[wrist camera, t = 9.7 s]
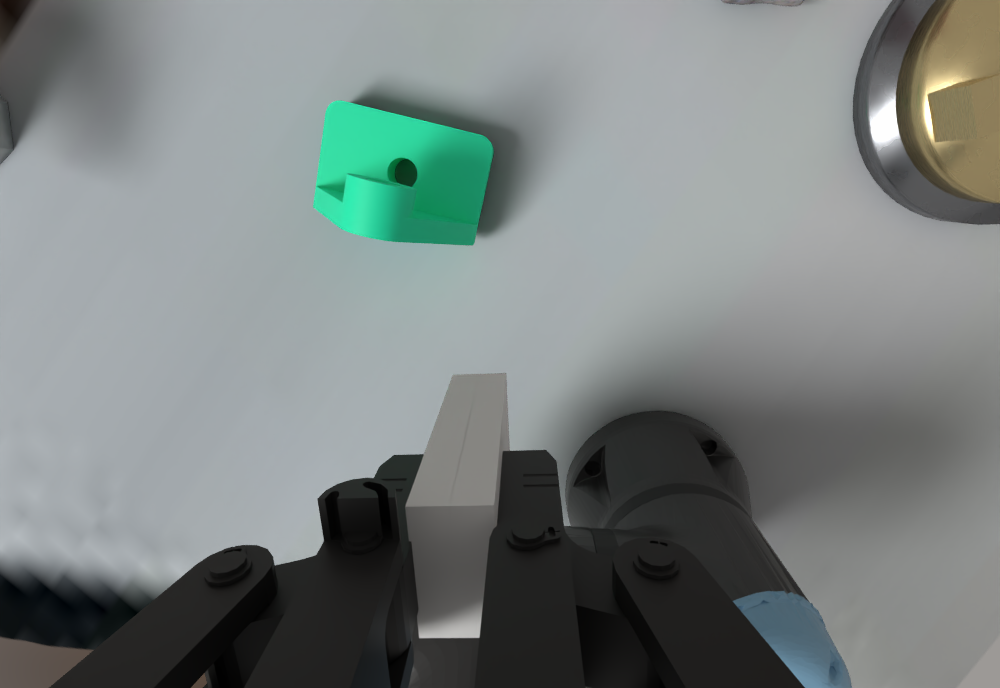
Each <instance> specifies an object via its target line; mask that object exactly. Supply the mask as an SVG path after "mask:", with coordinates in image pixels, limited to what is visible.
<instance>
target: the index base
mask: <svg viewBox="0 0 1000 688" xmlns="http://www.w3.org/2000/svg"><path fill="white" fill-rule="evenodd" d="M935 1H936V0H893V1H892V2H891V3H890V4H889V6H888V7H887V9H886V11H885V12H884V14H883V15H882V17H881V18H880V20H879V21H878V23H877V25H876V27H875V29H874V31H873V33H872V35H871V37H870V38H869V40H868V43H867V46H866V48H865V51H864V53H863V56H862V59H861V62H860V66H859V69H858V73H857V77H856V82H855V90H854V97H853V121H854V129H855V136H856V140H857V144H858V147H859V151H860V154H861V156H862V158H863V161H864V163H865V165H866V167H867V169H868V171H869V172H870V174H871V175H872V177H873V179H874V180H875V181H876V183H877V184H878V185H879V186H880V187H881V188H882V189H883V191H884V192H885V193H886V194H888V195H889V196H890V197H891V198H892V199H893V200H895V201H896V202H897V203H899V204H900V205H902V206H904V207H905V208H907V209H909V210H910V211H913V212H915V213H917V214H920V215H922V216H925V217H928V218H932V219H936V220H940V221H949V222H959V223H969V224H978V225H979V224H1000V204H997V203H983V202H973V201H969V200H965V199H961V198H958V197H955V196H953V195H951V194H948V193H946V192H944V191H942V190H941V189H939V188H938V187H936V186H934V185H933V184H932V183H931V182H929V181H928V180H927V179H926V178H925V177H924V176H923V175H922V174H921V173H920V172H919V171H918V170H917V168H916V167H915V166H914V165H913V163H912V161H911V160H910V158H909V156H908V155H907V153H906V151H905V148H904V146H903V143H902V141H901V138H900V134H899V130H898V126H897V119H896V109H895V106H896V88H897V81H898V75H899V71H900V68H901V64H902V60H903V57H904V54H905V52H906V49H907V47H908V44H909V42H910V40H911V38H912V36H913V34H914V32H915V30H916V28H917V26H918V24H919V23H920V21H921V20H922V18H923V17H924V15H925V14H926V12H927V11H928V9H929V8H930V7H931V5H932V4H933V3H934V2H935Z"/></svg>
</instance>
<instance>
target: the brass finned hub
mask: <svg viewBox="0 0 1000 688" xmlns="http://www.w3.org/2000/svg"><path fill="white" fill-rule="evenodd" d="M895 109H896V119H897V126H898V130H899V134H900V138H901V141H902V143H903V146H904V148H905V151H906V153H907V155H908V156H909V158H910V160H911V161H912V163H913V165H914V166H915V167H916V168H917V170H918V171H919V172H920V173H921V174H922V175H923V176H924V177H925V178H926V179H927V180H928V181H929V182H931V183H932V184H933V185H934V186H936V187H938V188H939V189H941V190H942V191H944V192H946V193H948V194H951V195H953V196H955V197H958V198H961V199H965V200H969V201H973V202H983V203H997V204H1000V0H936V1H935V2H934V3H933V4H932V5H931V7H930V8H929V9H928V11H927V12H926V14H925V15H924V17H923V18H922V20H921V21H920V23H919V24H918V26H917V28H916V30H915V32H914V34H913V36H912V38H911V40H910V42H909V44H908V47H907V49H906V52H905V54H904V57H903V60H902V64H901V68H900V71H899V75H898V81H897V88H896V106H895Z"/></svg>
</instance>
